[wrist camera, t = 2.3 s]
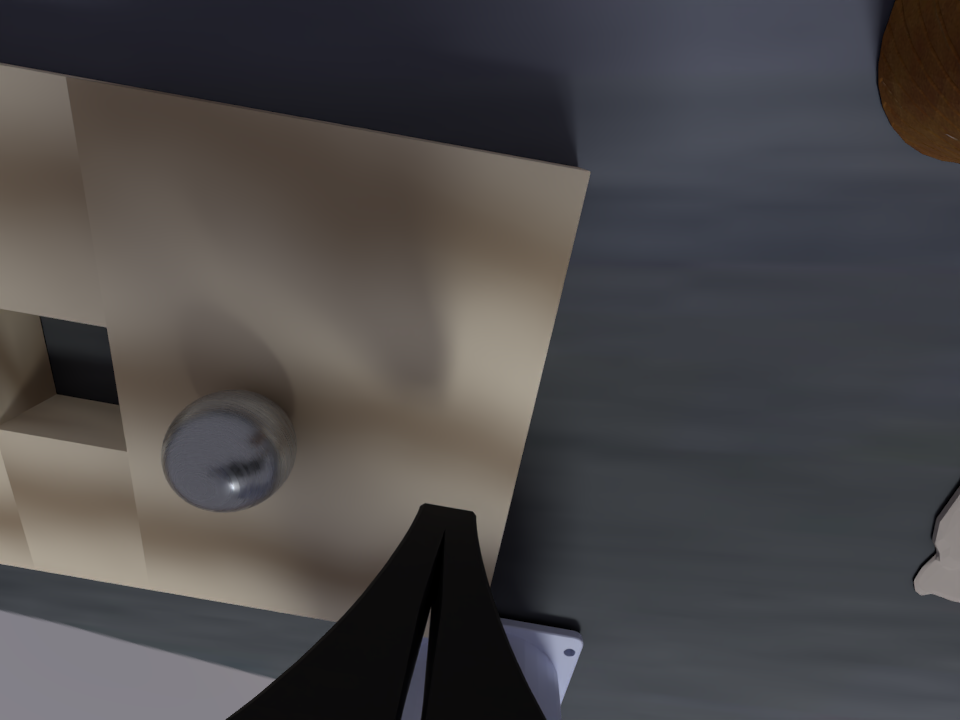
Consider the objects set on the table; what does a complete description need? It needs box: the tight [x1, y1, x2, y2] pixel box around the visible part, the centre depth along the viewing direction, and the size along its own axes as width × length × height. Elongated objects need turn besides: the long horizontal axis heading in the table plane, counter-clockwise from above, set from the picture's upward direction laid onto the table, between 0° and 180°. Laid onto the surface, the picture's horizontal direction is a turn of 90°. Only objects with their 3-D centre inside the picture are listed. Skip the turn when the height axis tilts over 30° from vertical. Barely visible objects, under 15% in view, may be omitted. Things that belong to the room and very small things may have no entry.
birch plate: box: [0, 63, 591, 638], centre depth 17 cm, size 18×22×2 cm
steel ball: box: [161, 390, 297, 513], centre depth 14 cm, size 4×4×4 cm
